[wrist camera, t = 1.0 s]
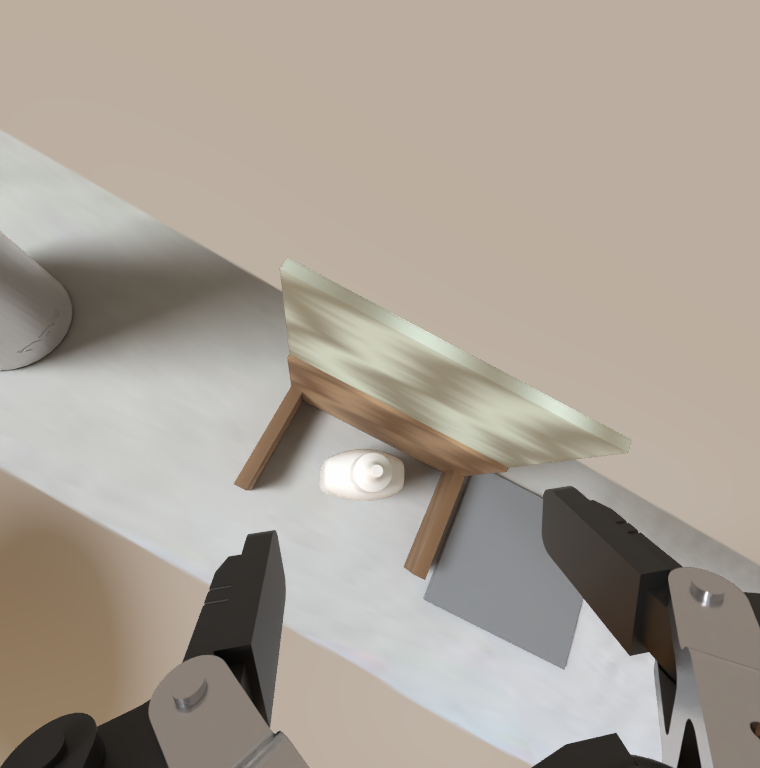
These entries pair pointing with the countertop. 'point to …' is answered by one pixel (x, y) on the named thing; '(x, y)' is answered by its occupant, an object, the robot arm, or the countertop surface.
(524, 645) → the slate mat
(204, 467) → the countertop surface
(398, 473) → the eye dropper bottle
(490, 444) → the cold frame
